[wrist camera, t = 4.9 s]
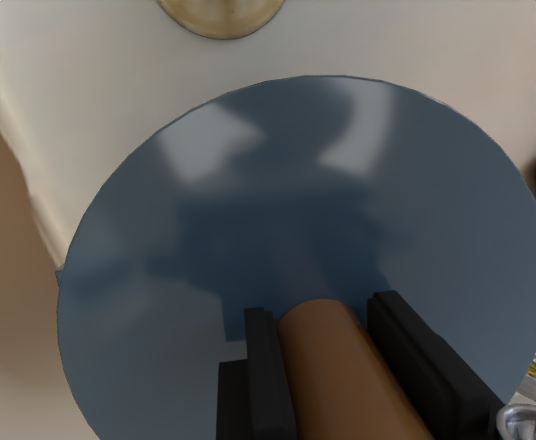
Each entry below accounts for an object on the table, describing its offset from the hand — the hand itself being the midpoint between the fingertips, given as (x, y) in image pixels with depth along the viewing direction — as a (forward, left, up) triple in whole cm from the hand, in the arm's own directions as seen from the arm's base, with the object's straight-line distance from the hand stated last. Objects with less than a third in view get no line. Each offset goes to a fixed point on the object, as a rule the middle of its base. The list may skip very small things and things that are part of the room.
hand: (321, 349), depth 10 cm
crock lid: (0, 0, -1) cm, 1 cm away
